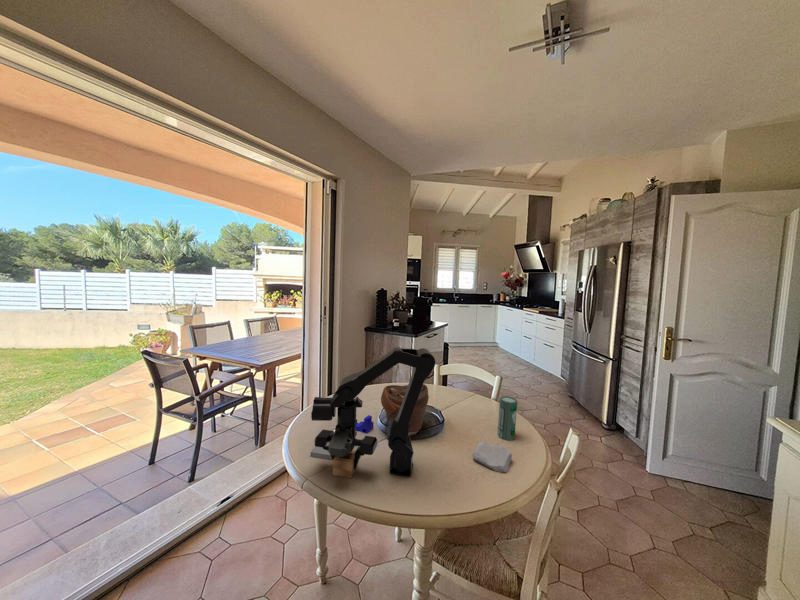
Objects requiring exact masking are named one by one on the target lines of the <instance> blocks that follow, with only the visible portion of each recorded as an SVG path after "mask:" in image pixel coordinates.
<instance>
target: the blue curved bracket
mask: <svg viewBox="0 0 800 600" xmlns="http://www.w3.org/2000/svg"><path fill="white" fill-rule="evenodd" d="M372 418H373V416H372V415H370V414H369V415H366V417H364V419H363V421H360V422H357V423H356V432H361V433H363V434H367V435H368V433H370V432H371V431H372V430H374V421H373V419H372Z"/></svg>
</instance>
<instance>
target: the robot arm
mask: <svg viewBox="0 0 800 600" xmlns="http://www.w3.org/2000/svg"><path fill="white" fill-rule="evenodd" d="M398 364H402V365H404V366H405V365H406V366H408V367H411V375H410V378H409V382H408V384H407V385H408V387H407V390H406V393H405V395H404V398H403V401H402V404H401V407H400V410H399V413H398V415H397V417H396V418H395V419H391V418H390V421H389V425H388V424H387V426H386V428H385V430H386V433H385V434H386V440H387V444H388V448H389V449H390V450H391V453H390V455H389V469H390V471H389V474H390V475H396V476H401V477H402V476H403V477H408V478H410V477H412V471H413V467H414V463H413V456H414V449H413V445H412V440H411V436H408V432H409V423H410V420H411V417H412V414H413V411H414V408H415V406H416V403H417V400H418V397H419V394H420V391H421V389H422V386H423V384H424V383H425V381H426V380H427V379H428V378H429V377H430V375H431V374H432V372H433V370H434V368H435V366H436V359H435V357H434V355H433V354H432V352H431V351H430V350H429V349H427V348H419V349H415V348H403V347H397V346H395V347H393V348H392V349H391V350H390V351H389V352H388V353H386V354H384V355H383V356H381V357H380V358H379V359H377V360H376V361H374V362H372V364H370V365H368V366H367V367H365V368H364V369H362V370H361V371H359V372H355V373H352V374H349V375H347V376H345V377H343V378H342V379H341V380H340V382H339V383H338V385H337V386H338V387H337V389H336V391H334V393H333V395H332V397H320V396H315V397H314V398H313V404H312V410H311V412H310V414H311V417H310V418H311V421H313V422H314V421H316V422H318V421H319V422H320V421H324V422H327V421H328V422H330V421H332V420H333V418H336V413H337V418H336V419H337V420H336V425H335V427H334V428H335V433H334V432H333V431H332V429H331V430H330V429H322V430H320V432H318V434H317V435H316V436H315V438H314V447H315V446H316V447H322V448H323V449H324V450H327V451H328V452H329V453H330V455H331V457H332V460H331V461H333V459H334V457H335V456H340V457H344V456H345V455H346V453H348V452H352V450H353V451H355V453H354V455H355V461H354V470H356V471H357V469H358V467H357V465H358V466H359V462H360V460H361V458H362V456H363V457H364V455H368V456H372V455H373V454H374V452H375V450H376V448H377V446H378V439H377V436H370V435H364V437H363V438H357V439H356V436H357V435H358V431H357V430H356V423H358V419H357V408H362V407H363V400H362V399H360V398H359V396H358V395H359V394H361V392H362V391H363V390H364V388H366V387H367V386H368V385H369V384H370V383H371V382H373V381H374V380H376V379H378V378H379V377H380V376H382V375H383V374H385V373H386V372H387V371H389V370H391V369H392V368H393V367H395V366H397V365H398ZM355 447H356V450H354V448H355ZM356 468H357V469H356Z"/></svg>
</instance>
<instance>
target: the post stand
mask: <svg viewBox="0 0 800 600" xmlns="http://www.w3.org/2000/svg"><path fill="white" fill-rule="evenodd" d="M335 428H336V427H334V428H331V431H333V432H334V433H335ZM356 439H358V438H356ZM310 457H312V458H318V459H319V458H320V459H324V460H330V461H333V460H332V457H331V455H330V453H329V452H328V451H327V450H324V449H323V448H322V447H316V446H315V445H314V447H313V449H312V450H311V451H310Z"/></svg>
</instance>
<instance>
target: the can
mask: <svg viewBox="0 0 800 600" xmlns="http://www.w3.org/2000/svg"><path fill="white" fill-rule="evenodd" d="M517 411H518V400H517V399H516V398H515V397H512V396H508V395H505V396H500V398H499V407H498V419H497V420H498V421H497V423H498V424H497V436H498V438H500V439H501V440H504V441H514V439H515V438H516V436H515V435H516V423H517Z"/></svg>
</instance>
